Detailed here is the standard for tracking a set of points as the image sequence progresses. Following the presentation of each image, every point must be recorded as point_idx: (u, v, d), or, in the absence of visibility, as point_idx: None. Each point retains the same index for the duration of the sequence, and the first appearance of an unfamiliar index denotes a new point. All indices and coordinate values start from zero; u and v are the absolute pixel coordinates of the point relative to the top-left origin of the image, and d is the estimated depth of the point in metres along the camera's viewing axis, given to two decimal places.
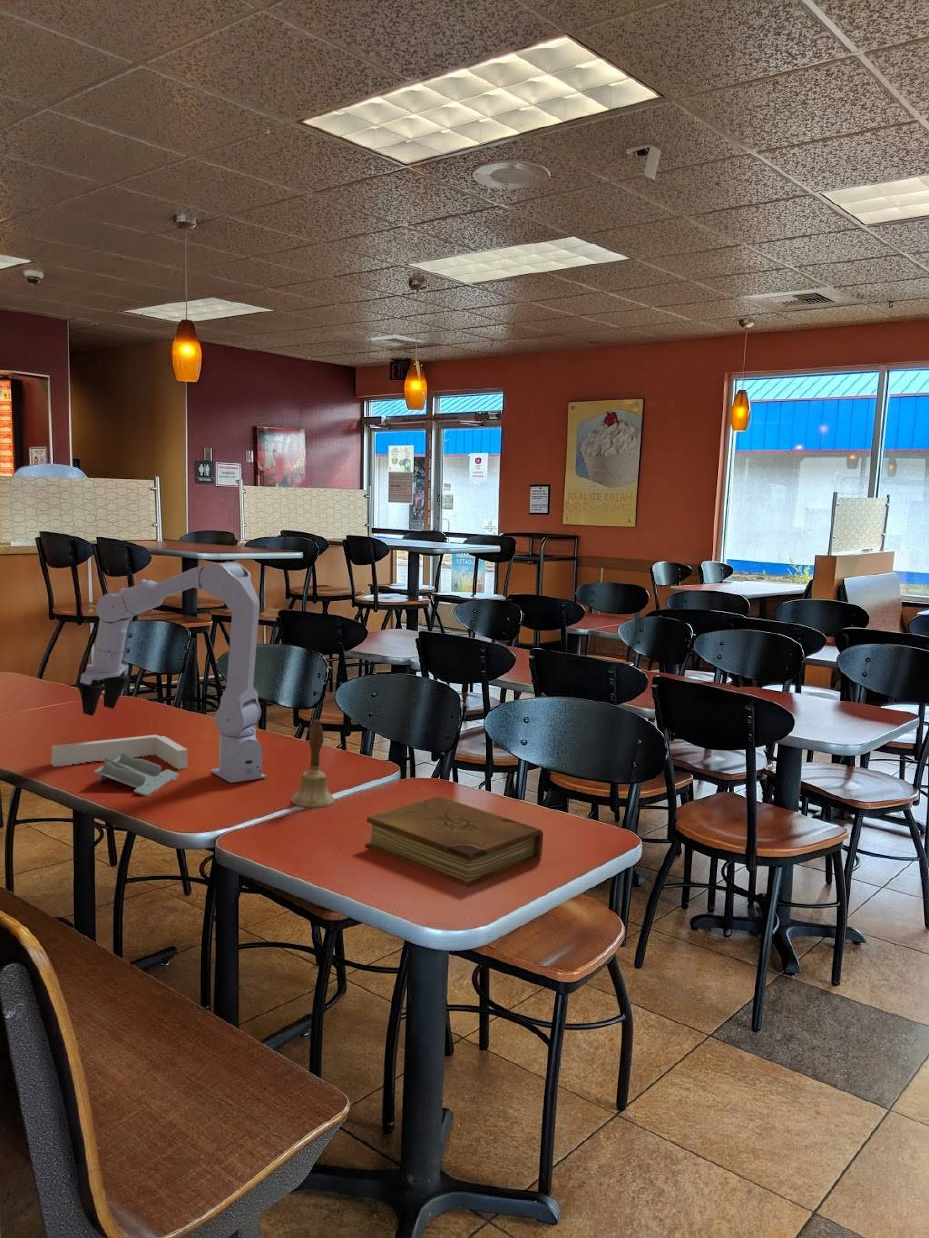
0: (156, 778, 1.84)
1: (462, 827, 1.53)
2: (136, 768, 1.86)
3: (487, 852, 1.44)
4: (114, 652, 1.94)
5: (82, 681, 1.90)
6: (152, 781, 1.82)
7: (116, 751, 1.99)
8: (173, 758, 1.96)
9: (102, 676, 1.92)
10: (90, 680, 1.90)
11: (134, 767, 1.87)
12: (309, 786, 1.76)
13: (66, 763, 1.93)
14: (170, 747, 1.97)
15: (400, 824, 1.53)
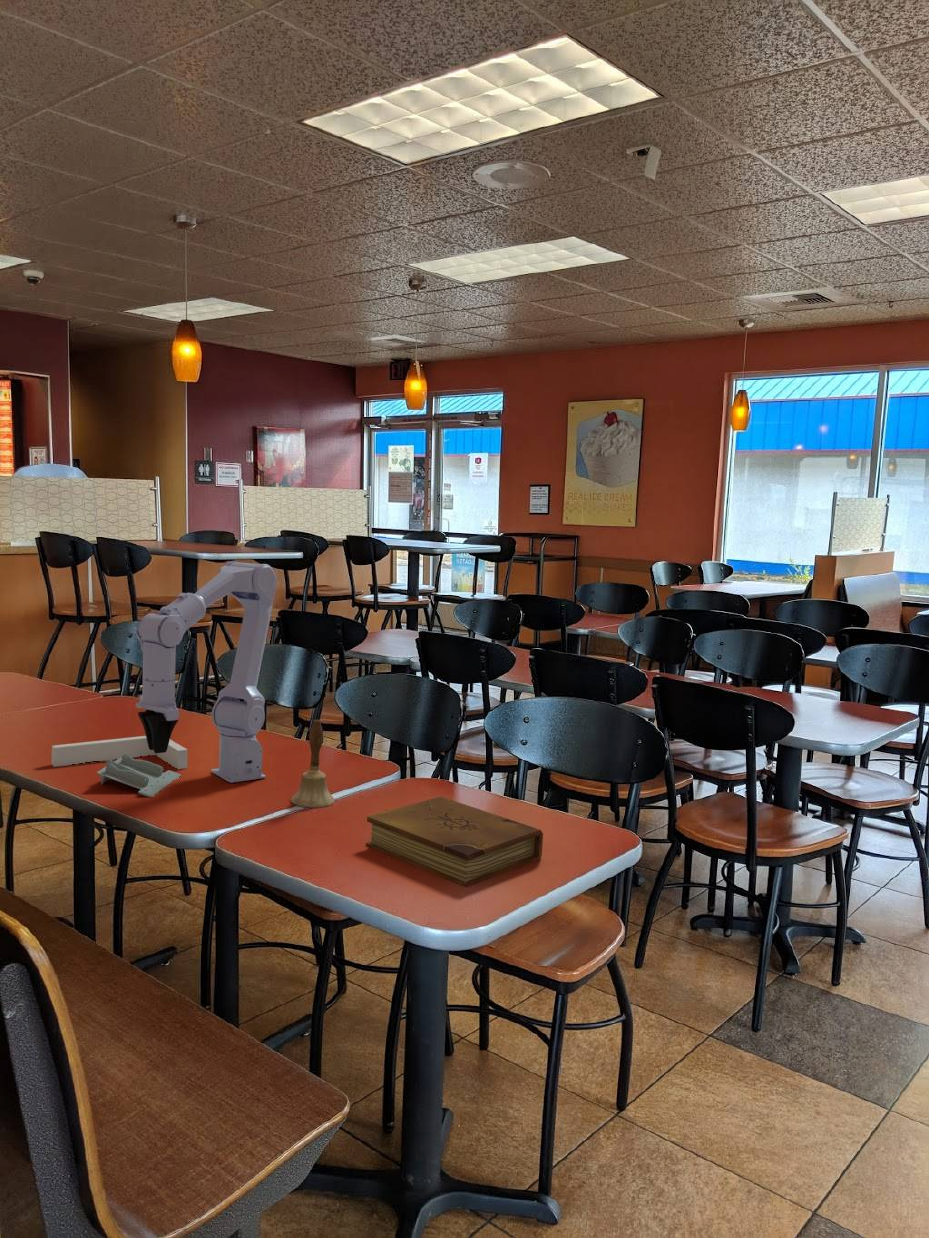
0: (159, 779, 1.84)
1: (461, 827, 1.53)
2: (138, 769, 1.86)
3: (485, 852, 1.44)
4: (174, 679, 1.72)
5: (170, 718, 1.66)
6: (155, 782, 1.82)
7: (116, 751, 1.99)
8: (173, 758, 1.96)
9: None
10: None
11: (136, 768, 1.86)
12: (309, 786, 1.76)
13: (66, 763, 1.93)
14: (170, 747, 1.97)
15: (400, 824, 1.53)
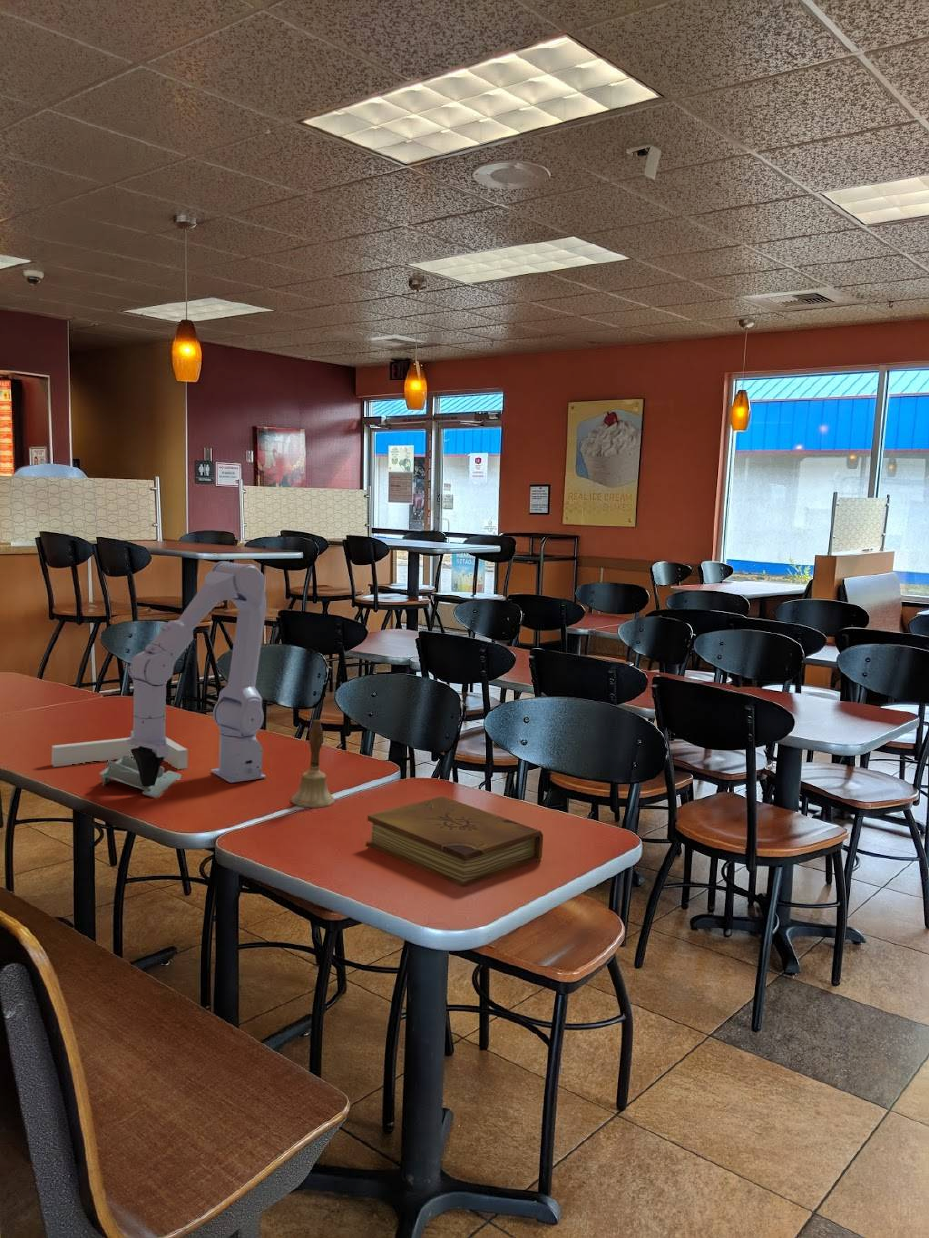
0: (160, 779, 1.84)
1: (461, 827, 1.53)
2: None
3: (483, 852, 1.44)
4: (164, 715, 1.76)
5: (160, 755, 1.71)
6: (157, 782, 1.82)
7: (116, 751, 1.99)
8: (173, 758, 1.96)
9: None
10: None
11: (136, 768, 1.85)
12: (309, 786, 1.76)
13: (66, 763, 1.93)
14: (170, 747, 1.97)
15: (399, 823, 1.53)
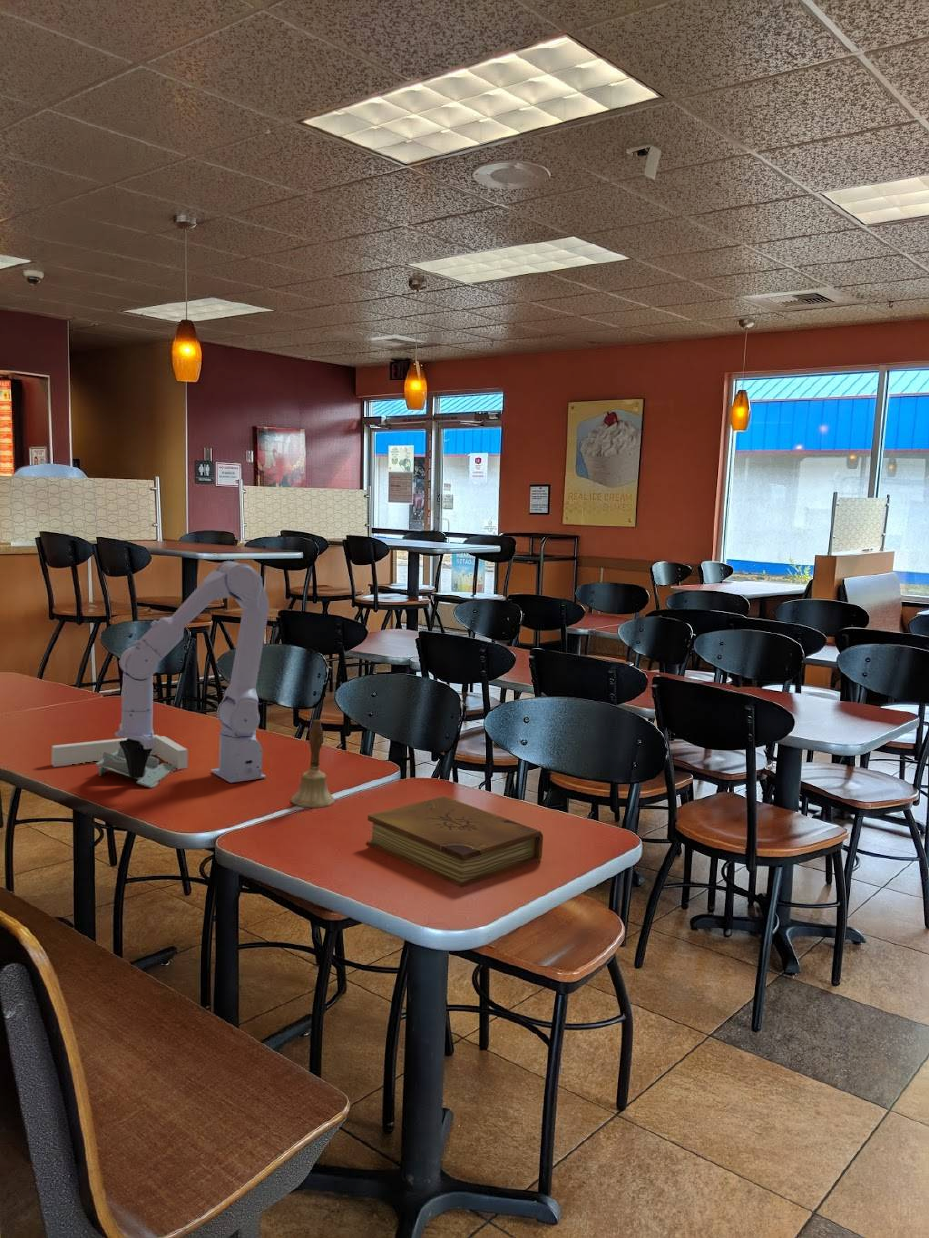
0: (155, 770, 1.89)
1: (461, 827, 1.53)
2: None
3: (482, 852, 1.44)
4: (152, 708, 1.81)
5: (147, 747, 1.76)
6: (152, 773, 1.87)
7: None
8: (173, 758, 1.96)
9: None
10: None
11: None
12: (309, 786, 1.76)
13: (66, 763, 1.93)
14: (170, 747, 1.97)
15: (399, 823, 1.53)
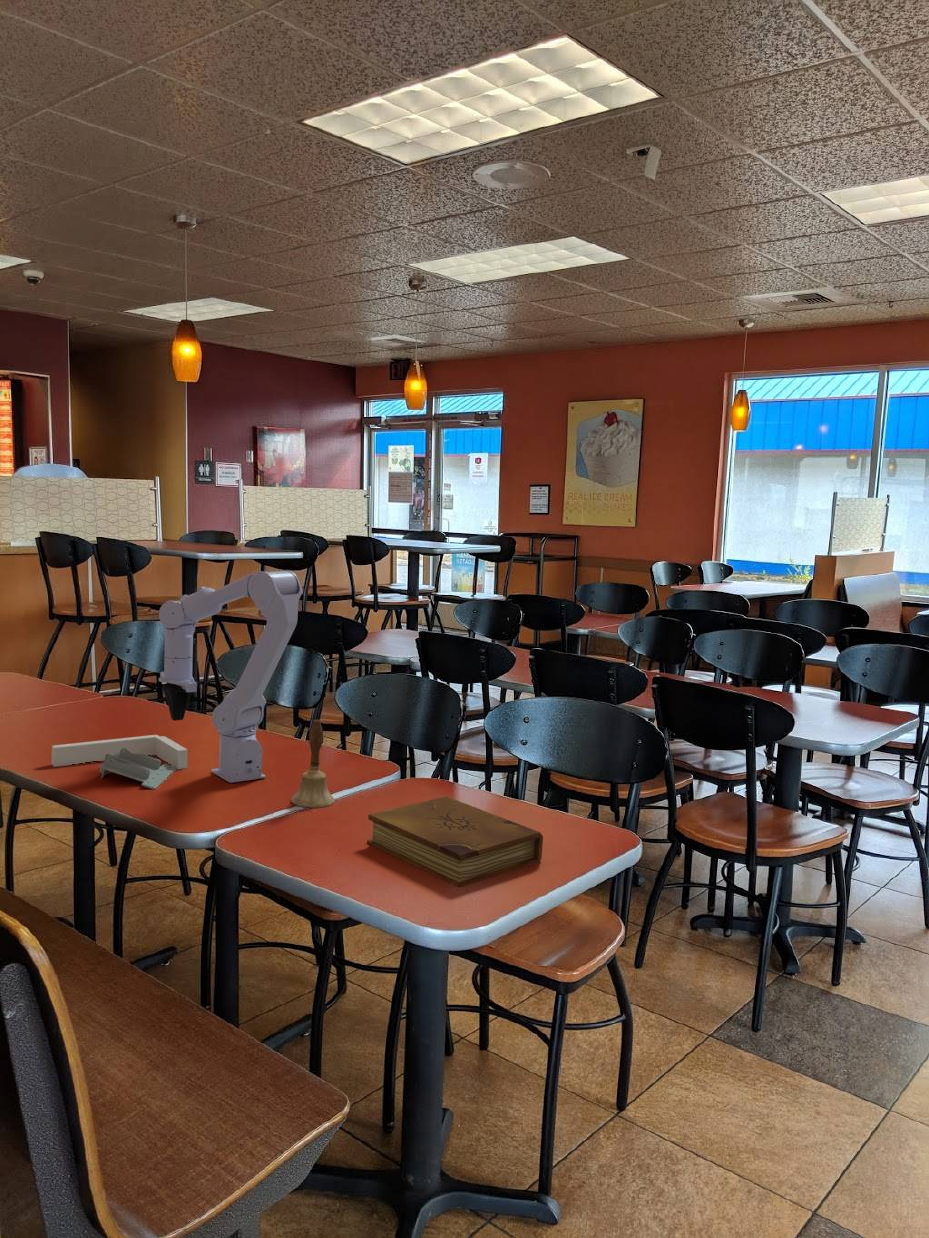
0: (158, 772, 1.89)
1: (460, 828, 1.53)
2: (136, 763, 1.90)
3: (480, 853, 1.43)
4: (192, 656, 1.97)
5: (190, 690, 1.92)
6: (155, 775, 1.87)
7: (116, 751, 1.99)
8: (173, 758, 1.96)
9: None
10: None
11: (134, 761, 1.90)
12: (309, 786, 1.76)
13: (66, 763, 1.93)
14: (170, 747, 1.97)
15: (399, 822, 1.54)
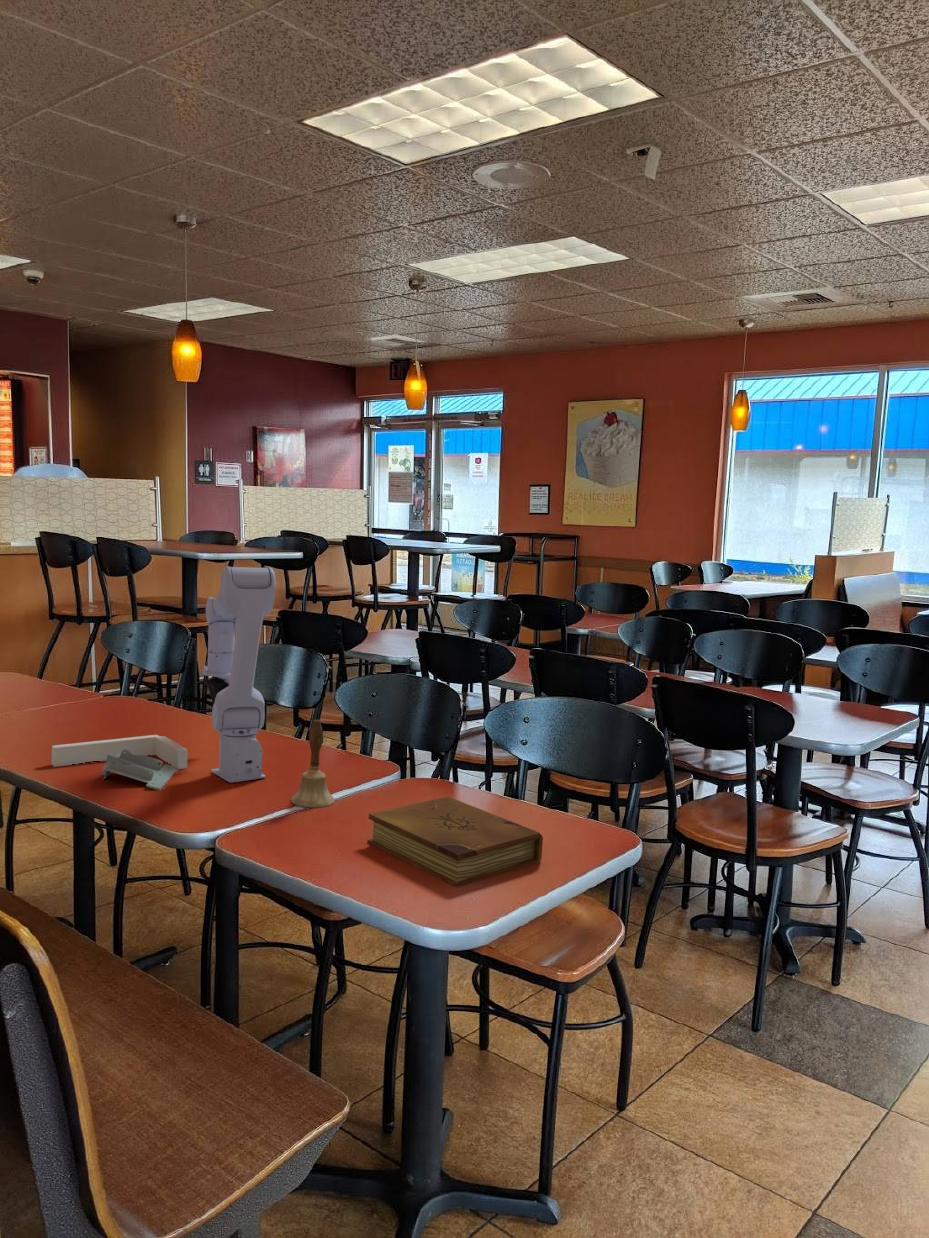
0: (160, 773, 1.88)
1: (460, 828, 1.53)
2: (138, 764, 1.89)
3: (478, 853, 1.43)
4: (234, 651, 2.07)
5: None
6: (158, 776, 1.86)
7: (116, 751, 1.99)
8: (173, 758, 1.96)
9: None
10: None
11: (135, 763, 1.90)
12: (309, 786, 1.76)
13: (66, 763, 1.93)
14: (170, 747, 1.97)
15: (399, 822, 1.54)
